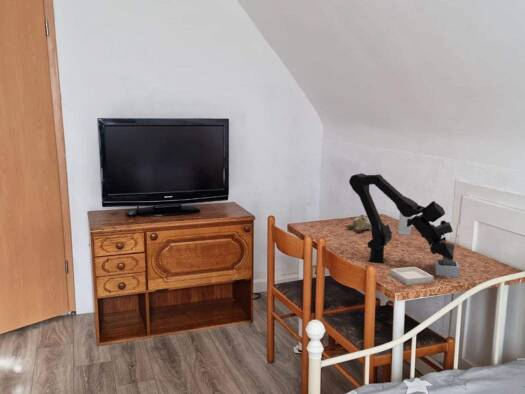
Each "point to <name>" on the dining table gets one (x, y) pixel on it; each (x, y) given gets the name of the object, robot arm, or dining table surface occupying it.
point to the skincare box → (404, 225)
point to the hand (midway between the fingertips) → (451, 257)
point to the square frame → (446, 269)
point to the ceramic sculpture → (360, 224)
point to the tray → (411, 276)
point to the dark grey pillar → (451, 249)
